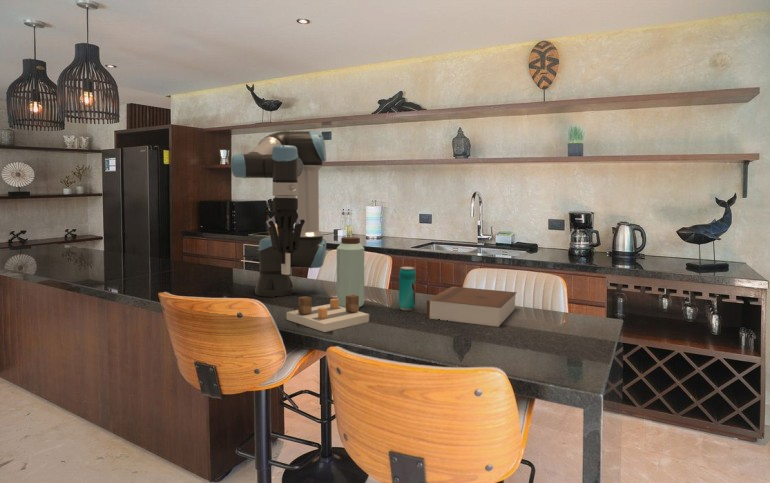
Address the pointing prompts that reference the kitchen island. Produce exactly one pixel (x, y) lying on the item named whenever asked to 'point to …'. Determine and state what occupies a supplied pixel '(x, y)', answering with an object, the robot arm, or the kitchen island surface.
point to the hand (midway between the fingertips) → (285, 273)
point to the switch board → (328, 317)
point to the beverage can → (407, 288)
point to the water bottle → (350, 270)
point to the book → (471, 306)
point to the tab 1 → (304, 305)
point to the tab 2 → (352, 303)
